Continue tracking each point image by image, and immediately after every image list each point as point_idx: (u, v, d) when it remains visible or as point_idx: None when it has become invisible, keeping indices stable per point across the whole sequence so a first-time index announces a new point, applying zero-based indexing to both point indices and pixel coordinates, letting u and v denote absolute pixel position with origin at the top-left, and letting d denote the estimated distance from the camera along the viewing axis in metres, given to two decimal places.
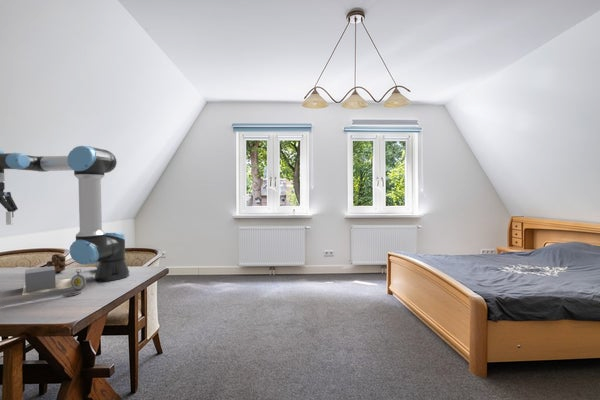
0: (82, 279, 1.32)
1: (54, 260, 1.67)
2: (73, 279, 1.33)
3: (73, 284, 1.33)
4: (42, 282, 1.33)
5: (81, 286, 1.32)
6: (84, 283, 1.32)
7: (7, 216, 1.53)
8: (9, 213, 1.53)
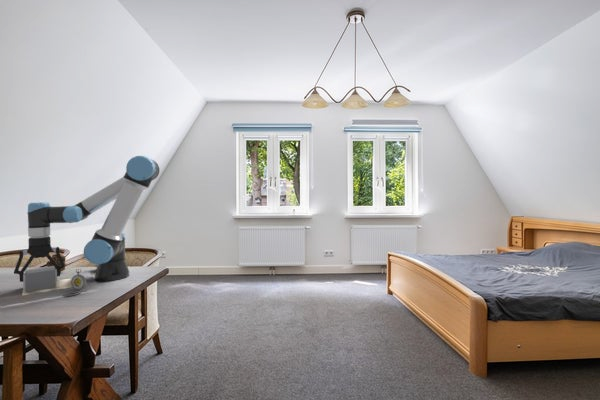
0: (82, 279, 1.32)
1: (54, 260, 1.67)
2: (73, 279, 1.33)
3: (73, 284, 1.33)
4: (42, 282, 1.33)
5: (81, 286, 1.32)
6: (84, 283, 1.32)
7: None
8: None
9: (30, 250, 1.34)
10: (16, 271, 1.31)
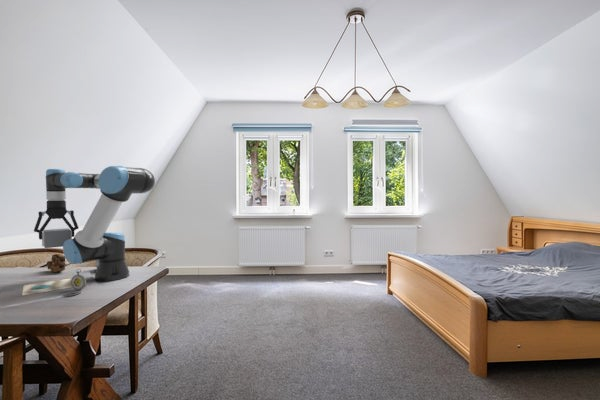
0: (82, 279, 1.32)
1: (54, 260, 1.67)
2: (73, 279, 1.33)
3: (73, 284, 1.33)
4: (59, 240, 1.49)
5: (81, 286, 1.32)
6: (84, 283, 1.32)
7: None
8: None
9: (48, 211, 1.49)
10: (36, 229, 1.46)
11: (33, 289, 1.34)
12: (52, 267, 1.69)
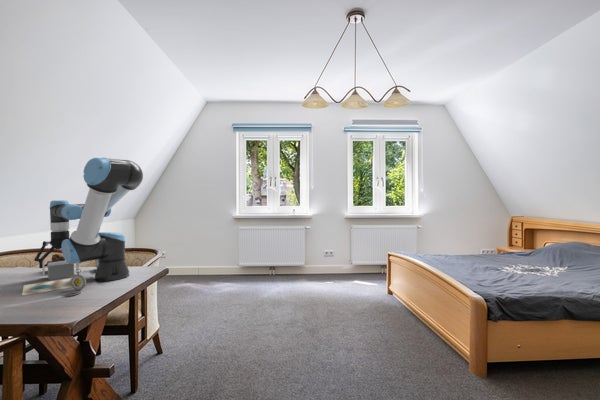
0: (82, 279, 1.32)
1: (54, 260, 1.67)
2: (73, 279, 1.33)
3: (73, 284, 1.33)
4: (62, 273, 1.52)
5: (81, 286, 1.32)
6: (84, 283, 1.32)
7: None
8: None
9: (52, 242, 1.52)
10: (36, 259, 1.48)
11: (33, 289, 1.34)
12: None
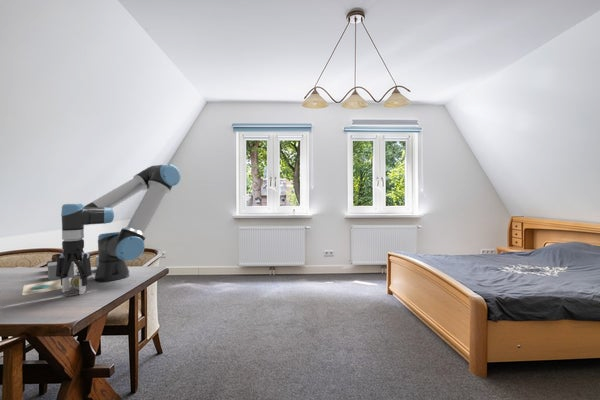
0: None
1: (54, 260, 1.67)
2: (73, 279, 1.33)
3: (73, 284, 1.33)
4: None
5: None
6: None
7: None
8: None
9: (64, 253, 1.30)
10: (57, 274, 1.30)
11: (33, 289, 1.34)
12: None
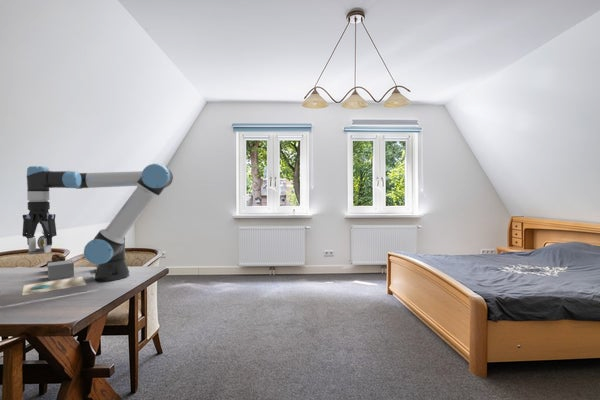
0: None
1: (54, 260, 1.67)
2: (39, 240, 1.39)
3: (39, 244, 1.39)
4: (62, 273, 1.52)
5: None
6: None
7: None
8: None
9: (30, 213, 1.35)
10: (23, 234, 1.36)
11: (33, 289, 1.34)
12: None
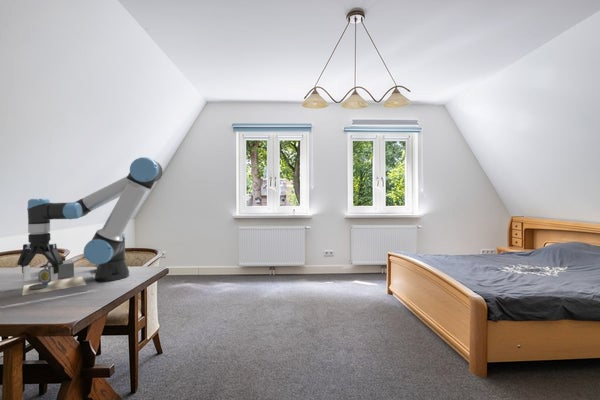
0: (49, 273, 1.39)
1: None
2: (40, 273, 1.39)
3: (40, 278, 1.39)
4: (62, 273, 1.52)
5: (48, 280, 1.39)
6: None
7: None
8: None
9: (30, 245, 1.36)
10: (18, 263, 1.36)
11: (33, 289, 1.34)
12: None
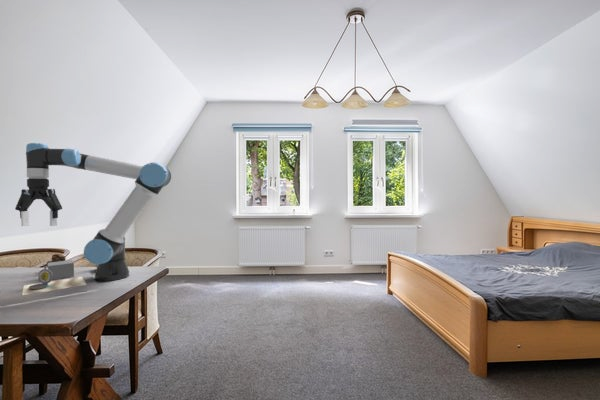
0: (49, 273, 1.39)
1: (54, 260, 1.67)
2: (40, 273, 1.39)
3: (40, 278, 1.39)
4: (62, 273, 1.52)
5: (48, 280, 1.39)
6: (51, 277, 1.39)
7: None
8: None
9: (29, 190, 1.35)
10: (17, 207, 1.36)
11: (33, 289, 1.34)
12: None
